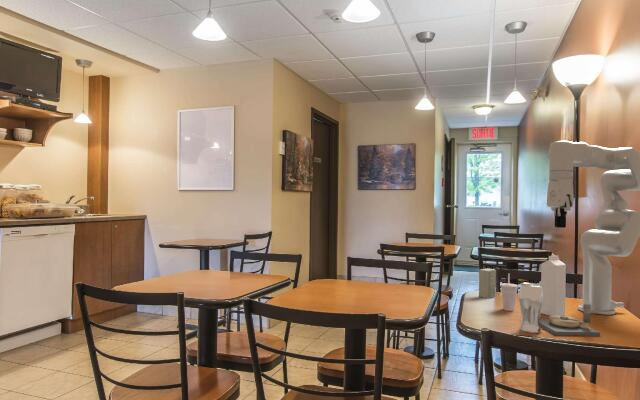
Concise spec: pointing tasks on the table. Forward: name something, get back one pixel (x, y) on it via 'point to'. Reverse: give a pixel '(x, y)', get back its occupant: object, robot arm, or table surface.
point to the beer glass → (531, 306)
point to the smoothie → (509, 294)
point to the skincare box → (487, 283)
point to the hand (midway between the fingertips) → (560, 227)
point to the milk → (553, 286)
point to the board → (567, 329)
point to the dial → (572, 319)
